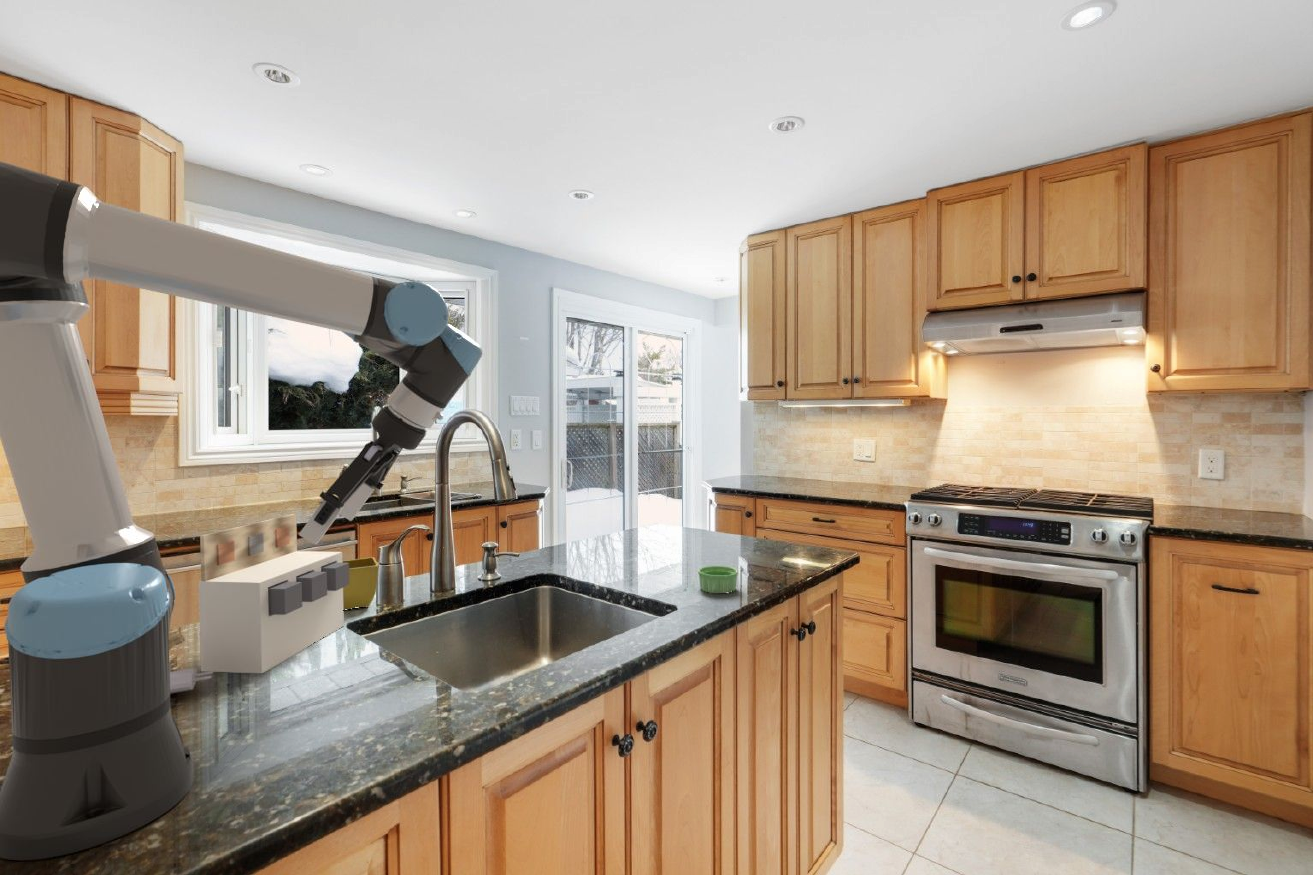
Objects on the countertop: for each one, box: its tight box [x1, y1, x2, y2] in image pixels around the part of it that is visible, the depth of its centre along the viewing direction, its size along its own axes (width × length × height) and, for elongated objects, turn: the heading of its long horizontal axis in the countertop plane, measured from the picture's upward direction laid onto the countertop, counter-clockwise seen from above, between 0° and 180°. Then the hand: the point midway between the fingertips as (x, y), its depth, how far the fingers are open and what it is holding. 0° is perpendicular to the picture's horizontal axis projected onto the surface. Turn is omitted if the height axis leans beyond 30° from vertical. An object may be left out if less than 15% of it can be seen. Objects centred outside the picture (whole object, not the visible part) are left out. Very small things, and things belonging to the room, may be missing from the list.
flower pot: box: [342, 556, 379, 610], centre depth 126 cm, size 9×9×9 cm
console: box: [197, 550, 345, 675], centre depth 104 cm, size 21×10×14 cm, turn 175°
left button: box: [268, 582, 302, 615], centre depth 97 cm, size 4×3×4 cm
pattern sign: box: [199, 513, 298, 581], centre depth 104 cm, size 21×1×7 cm, turn 175°
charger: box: [169, 661, 214, 694], centre depth 84 cm, size 5×9×15 cm
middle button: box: [296, 572, 327, 602], centre depth 104 cm, size 4×3×4 cm
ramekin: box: [697, 565, 739, 594], centre depth 139 cm, size 9×9×4 cm
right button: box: [321, 563, 349, 591], centre depth 110 cm, size 4×3×4 cm
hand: (327, 526), depth 95 cm, fingers open, 13 cm apart
